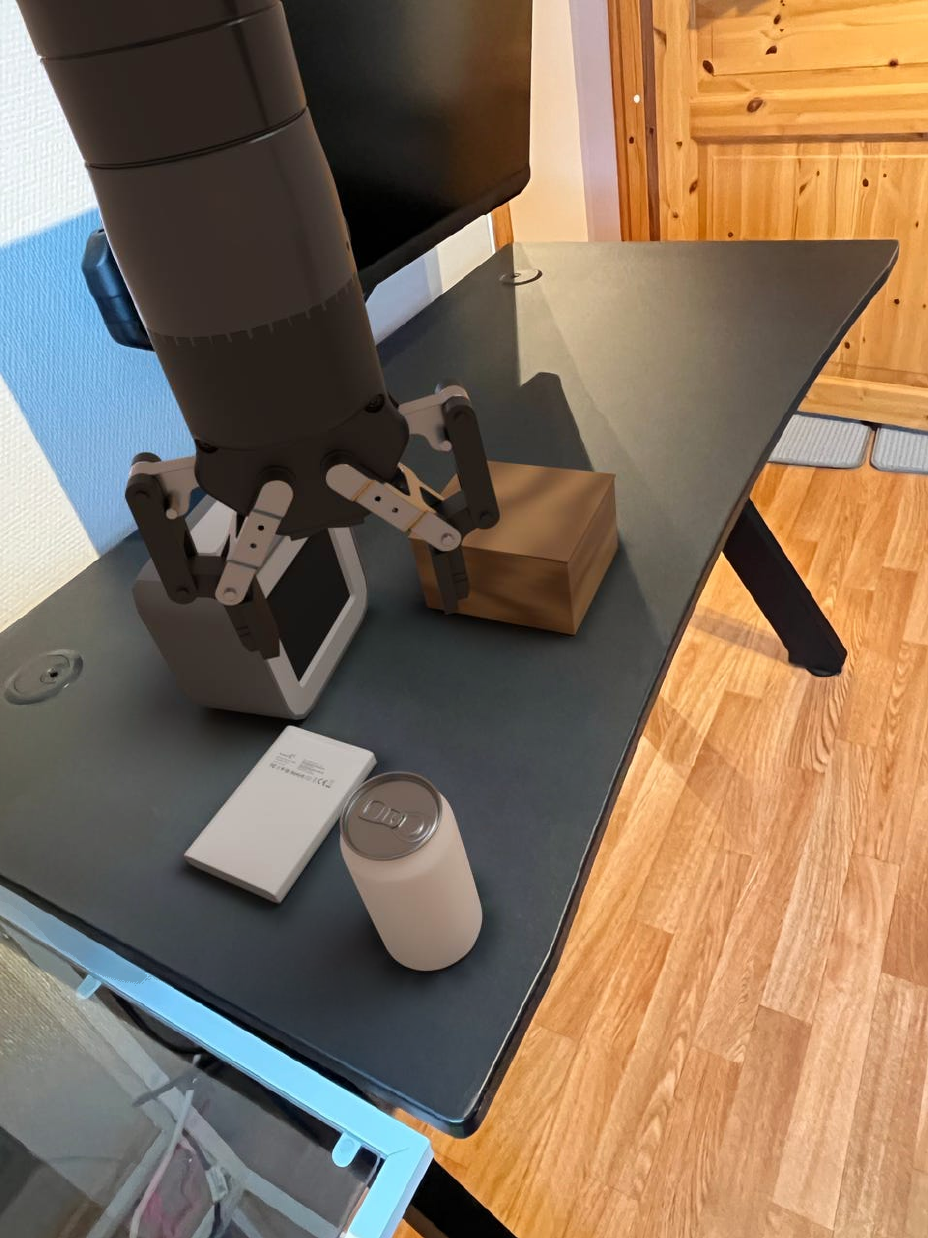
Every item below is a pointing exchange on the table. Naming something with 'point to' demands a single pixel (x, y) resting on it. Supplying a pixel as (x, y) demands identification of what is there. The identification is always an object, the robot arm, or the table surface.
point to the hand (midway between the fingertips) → (361, 624)
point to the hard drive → (281, 813)
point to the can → (411, 869)
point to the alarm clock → (299, 601)
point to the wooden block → (534, 547)
